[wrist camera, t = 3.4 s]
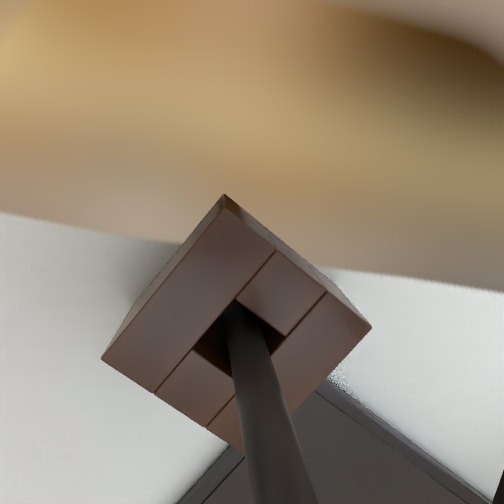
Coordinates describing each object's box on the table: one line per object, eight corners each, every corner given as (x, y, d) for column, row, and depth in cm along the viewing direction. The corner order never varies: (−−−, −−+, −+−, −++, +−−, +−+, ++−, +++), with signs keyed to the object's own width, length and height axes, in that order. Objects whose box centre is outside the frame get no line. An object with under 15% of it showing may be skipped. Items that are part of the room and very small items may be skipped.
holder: (130, 307, 19) (99, 359, 14) (223, 192, 18) (224, 206, 13) (244, 387, 21) (251, 459, 16) (336, 285, 20) (373, 327, 15)
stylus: (214, 299, 19) (261, 679, 6) (232, 277, 19) (323, 621, 6) (236, 314, 20) (326, 703, 6) (255, 293, 20) (386, 650, 6)
